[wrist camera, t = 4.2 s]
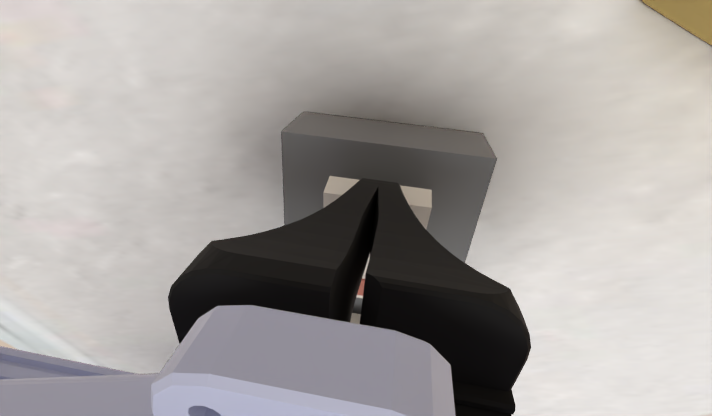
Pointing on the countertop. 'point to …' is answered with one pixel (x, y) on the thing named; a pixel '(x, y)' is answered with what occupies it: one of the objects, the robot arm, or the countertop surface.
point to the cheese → (687, 15)
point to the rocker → (415, 196)
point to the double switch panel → (389, 169)
